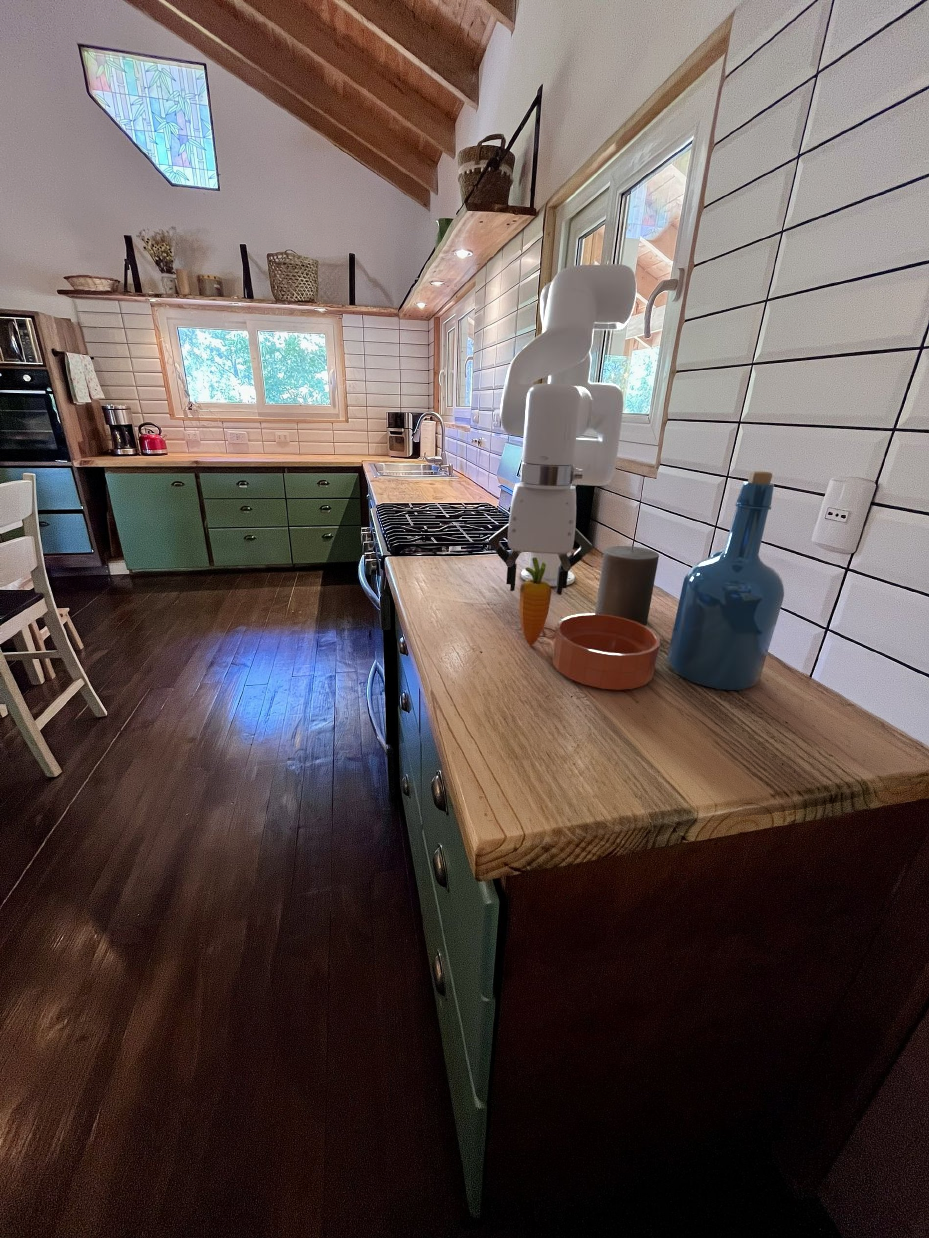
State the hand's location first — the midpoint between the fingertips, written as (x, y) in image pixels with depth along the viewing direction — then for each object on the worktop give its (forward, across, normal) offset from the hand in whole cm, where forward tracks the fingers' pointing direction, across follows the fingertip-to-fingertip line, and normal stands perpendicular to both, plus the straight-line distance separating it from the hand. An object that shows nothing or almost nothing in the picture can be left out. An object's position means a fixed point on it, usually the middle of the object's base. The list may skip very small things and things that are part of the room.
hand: (535, 589), depth 80 cm
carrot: (+10, 0, 0) cm, 10 cm away
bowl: (+10, -11, +6) cm, 16 cm away
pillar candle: (+10, -17, -14) cm, 24 cm away
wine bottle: (+10, -28, +4) cm, 30 cm away
